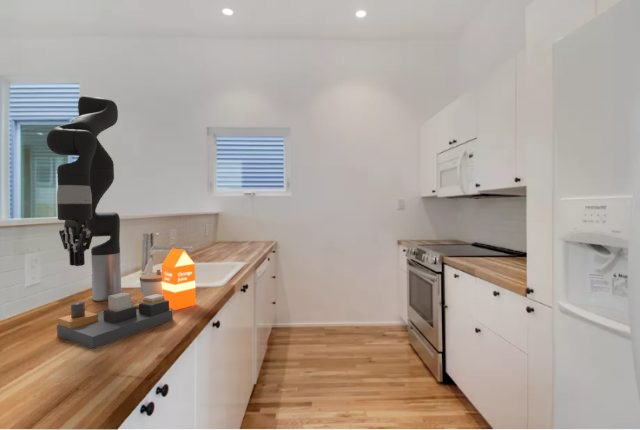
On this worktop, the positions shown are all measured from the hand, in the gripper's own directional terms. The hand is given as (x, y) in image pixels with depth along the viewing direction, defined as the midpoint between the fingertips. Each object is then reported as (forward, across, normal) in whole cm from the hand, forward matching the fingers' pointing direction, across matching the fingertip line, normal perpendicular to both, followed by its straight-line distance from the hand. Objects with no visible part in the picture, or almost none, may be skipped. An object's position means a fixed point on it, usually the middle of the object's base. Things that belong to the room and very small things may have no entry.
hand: (77, 265), depth 86 cm
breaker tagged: (+16, -11, -15) cm, 24 cm away
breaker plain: (+14, -7, -7) cm, 17 cm away
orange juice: (+19, -4, -29) cm, 35 cm away
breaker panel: (+19, -5, -7) cm, 21 cm away
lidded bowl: (+19, +10, -31) cm, 38 cm away
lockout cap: (+16, 0, 0) cm, 16 cm away
